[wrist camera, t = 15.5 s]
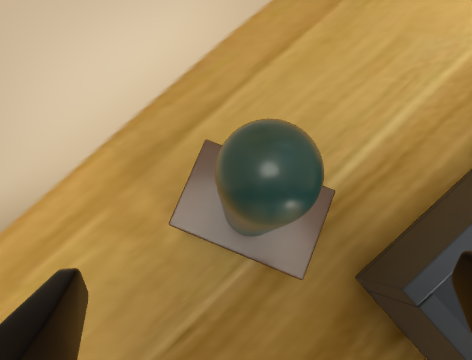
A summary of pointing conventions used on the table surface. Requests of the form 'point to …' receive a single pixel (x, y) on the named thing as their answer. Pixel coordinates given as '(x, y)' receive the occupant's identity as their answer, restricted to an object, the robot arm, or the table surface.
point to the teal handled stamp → (258, 195)
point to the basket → (427, 277)
